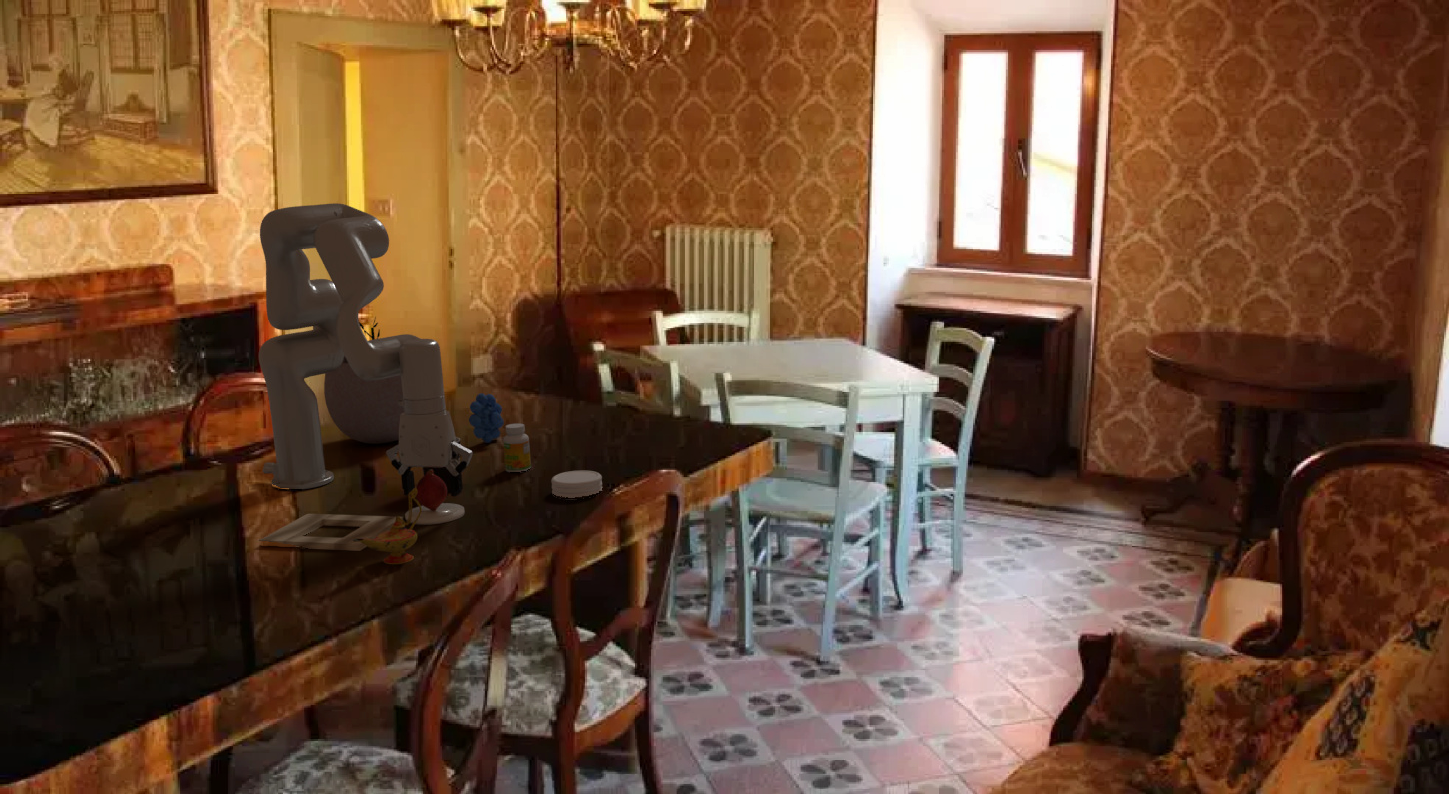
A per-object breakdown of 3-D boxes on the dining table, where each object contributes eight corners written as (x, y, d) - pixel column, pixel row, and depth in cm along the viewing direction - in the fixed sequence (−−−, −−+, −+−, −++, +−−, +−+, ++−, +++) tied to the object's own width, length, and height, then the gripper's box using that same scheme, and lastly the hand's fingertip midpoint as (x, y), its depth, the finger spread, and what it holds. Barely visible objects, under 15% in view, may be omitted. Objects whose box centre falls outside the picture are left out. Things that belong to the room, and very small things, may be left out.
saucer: (394, 523, 246) (394, 518, 246) (422, 506, 256) (421, 501, 256) (448, 525, 243) (448, 520, 243) (474, 508, 253) (473, 503, 253)
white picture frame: (259, 546, 236) (259, 540, 236) (308, 519, 251) (307, 513, 251) (360, 550, 231) (359, 544, 231) (403, 523, 246) (402, 516, 246)
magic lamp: (341, 578, 217) (334, 514, 215) (408, 544, 233) (402, 484, 231) (374, 582, 214) (368, 517, 212) (440, 547, 230) (435, 487, 228)
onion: (422, 517, 246) (418, 475, 244) (414, 509, 251) (409, 469, 249) (452, 511, 248) (448, 470, 247) (443, 504, 253) (440, 464, 252)
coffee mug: (454, 495, 263) (450, 446, 261) (414, 494, 265) (409, 446, 263) (476, 479, 274) (472, 432, 272) (438, 479, 276) (433, 432, 274)
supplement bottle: (500, 472, 279) (497, 427, 277) (514, 465, 284) (510, 422, 282) (522, 474, 277) (519, 429, 275) (535, 467, 282) (532, 423, 279)
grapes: (488, 450, 298) (484, 398, 296) (464, 448, 301) (460, 396, 299) (518, 438, 309) (514, 388, 306) (494, 436, 311) (490, 386, 309)
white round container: (613, 491, 261) (612, 474, 261) (575, 503, 254) (573, 486, 254) (579, 483, 268) (578, 467, 267) (542, 495, 261) (540, 478, 260)
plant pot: (450, 429, 321) (439, 307, 314) (406, 454, 298) (393, 323, 291) (361, 428, 326) (348, 308, 320) (310, 453, 303) (295, 324, 297)
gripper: (372, 409, 244) (382, 498, 247) (458, 410, 239) (466, 501, 243) (392, 400, 251) (401, 487, 254) (475, 401, 247) (483, 489, 250)
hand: (433, 493), depth 249 cm, fingers open, 9 cm apart
